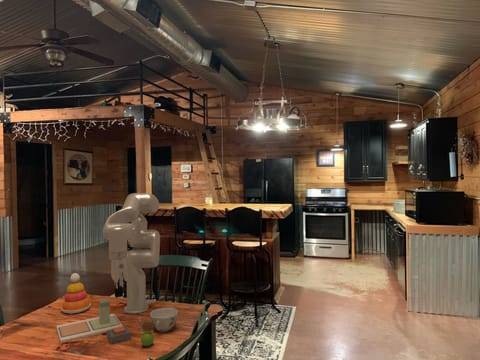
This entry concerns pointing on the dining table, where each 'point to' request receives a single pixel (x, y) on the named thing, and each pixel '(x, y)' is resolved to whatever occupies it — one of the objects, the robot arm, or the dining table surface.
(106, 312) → the sage block
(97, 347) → the dining table surface
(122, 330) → the button
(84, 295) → the stacking toy
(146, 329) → the snail figurine
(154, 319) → the teacup
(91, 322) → the picture board
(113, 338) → the button housing
